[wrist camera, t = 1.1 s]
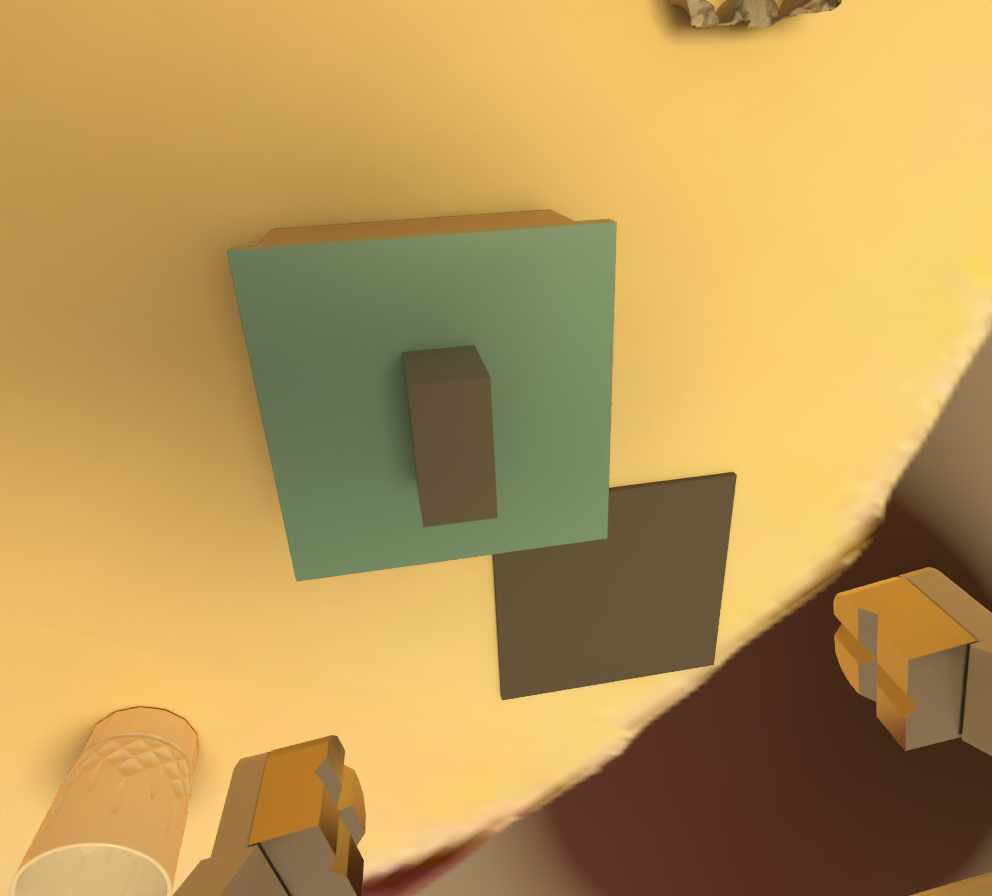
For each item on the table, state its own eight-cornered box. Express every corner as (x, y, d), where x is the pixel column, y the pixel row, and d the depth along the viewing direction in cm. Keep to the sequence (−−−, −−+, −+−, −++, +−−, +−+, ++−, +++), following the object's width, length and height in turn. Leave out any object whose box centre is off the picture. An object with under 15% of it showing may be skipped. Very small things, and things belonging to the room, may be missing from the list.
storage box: (317, 480, 40) (307, 558, 33) (271, 229, 34) (247, 258, 27) (552, 452, 42) (591, 520, 35) (549, 209, 36) (596, 232, 29)
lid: (300, 554, 34) (288, 639, 29) (236, 241, 28) (205, 272, 22) (594, 515, 36) (635, 587, 31) (599, 215, 30) (654, 237, 24)
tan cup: (54, 755, 45) (-22, 911, 36) (126, 680, 44) (64, 824, 35) (162, 801, 48) (116, 955, 40) (232, 732, 47) (201, 876, 38)
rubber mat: (501, 696, 50) (502, 700, 49) (489, 503, 43) (491, 506, 42) (711, 661, 52) (713, 664, 51) (733, 472, 45) (736, 475, 44)
